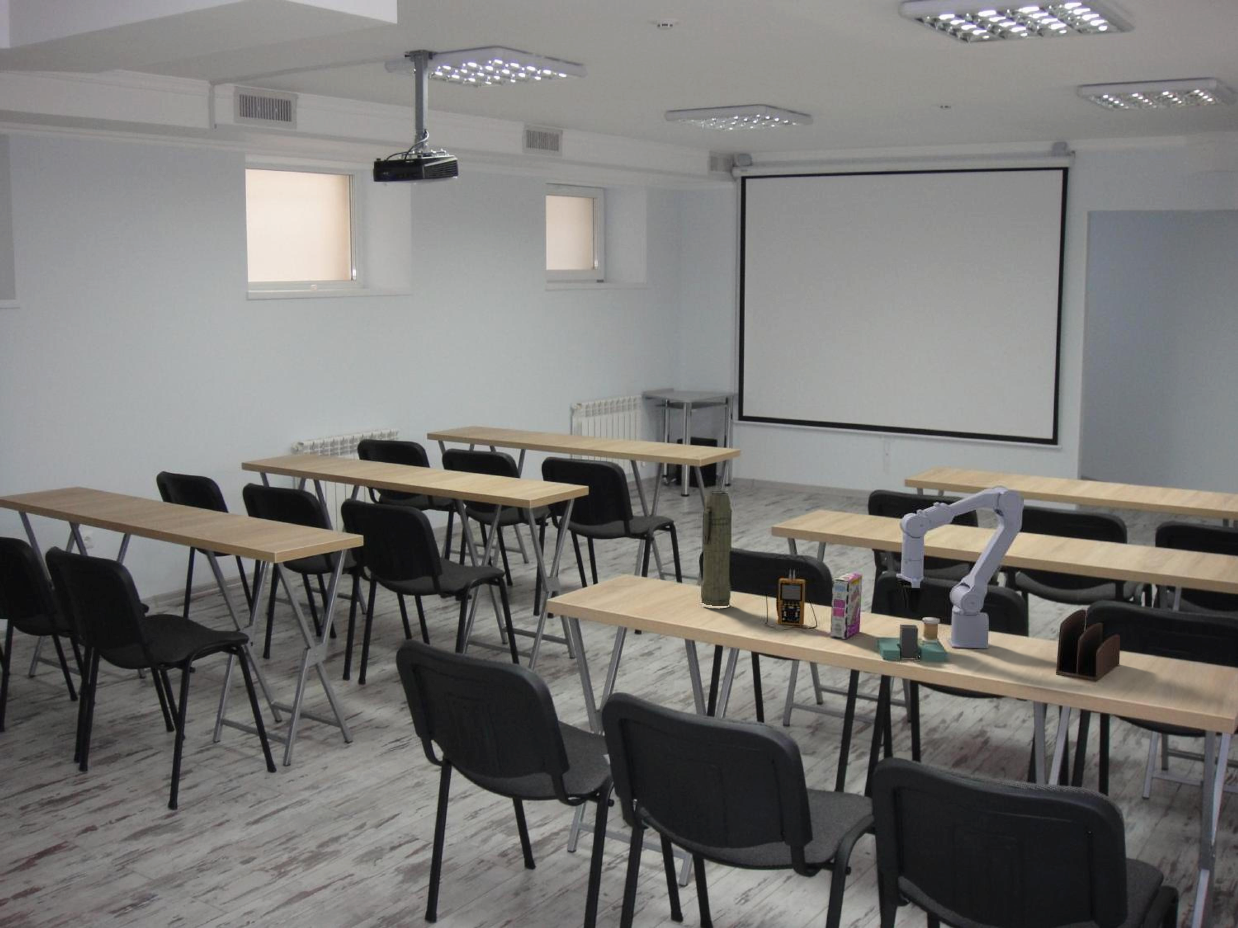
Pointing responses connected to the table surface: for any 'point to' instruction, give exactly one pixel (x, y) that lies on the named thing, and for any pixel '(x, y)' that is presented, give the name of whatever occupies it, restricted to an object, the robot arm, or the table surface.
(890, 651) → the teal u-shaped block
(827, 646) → the table surface
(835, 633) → the candy bar box
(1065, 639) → the letter holder
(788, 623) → the multimeter
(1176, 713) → the table surface
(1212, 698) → the table surface
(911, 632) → the terminal peg
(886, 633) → the table surface
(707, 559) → the thermos
